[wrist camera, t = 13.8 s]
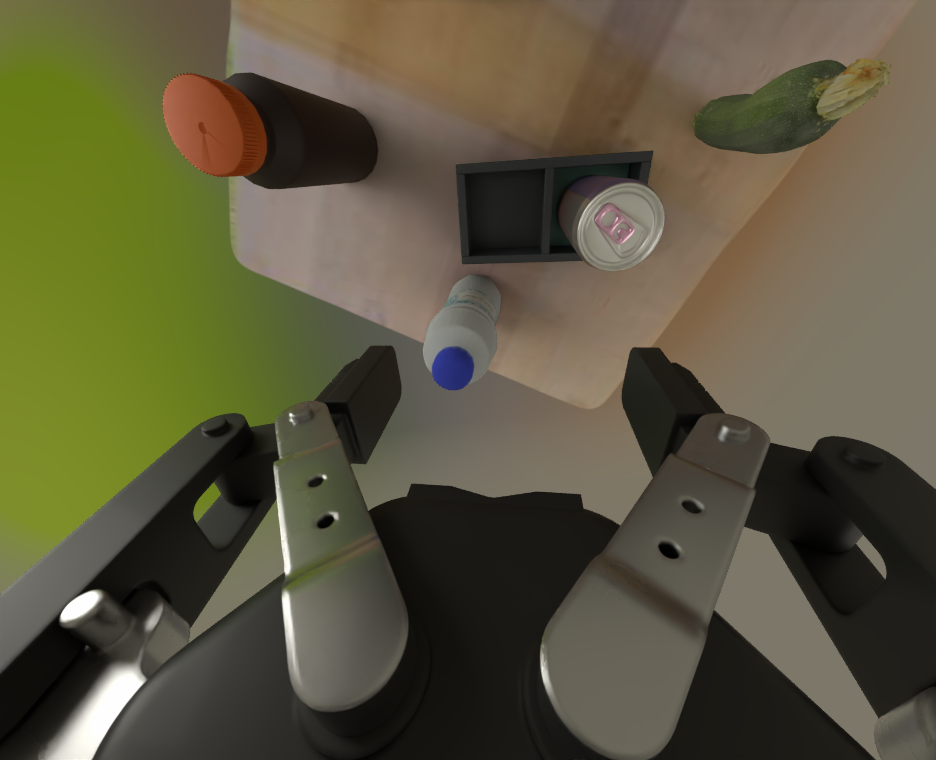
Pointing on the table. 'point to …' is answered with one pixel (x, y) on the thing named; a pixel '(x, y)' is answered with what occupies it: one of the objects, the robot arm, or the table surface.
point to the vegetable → (790, 107)
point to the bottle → (463, 333)
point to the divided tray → (528, 204)
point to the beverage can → (611, 220)
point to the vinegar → (267, 132)
